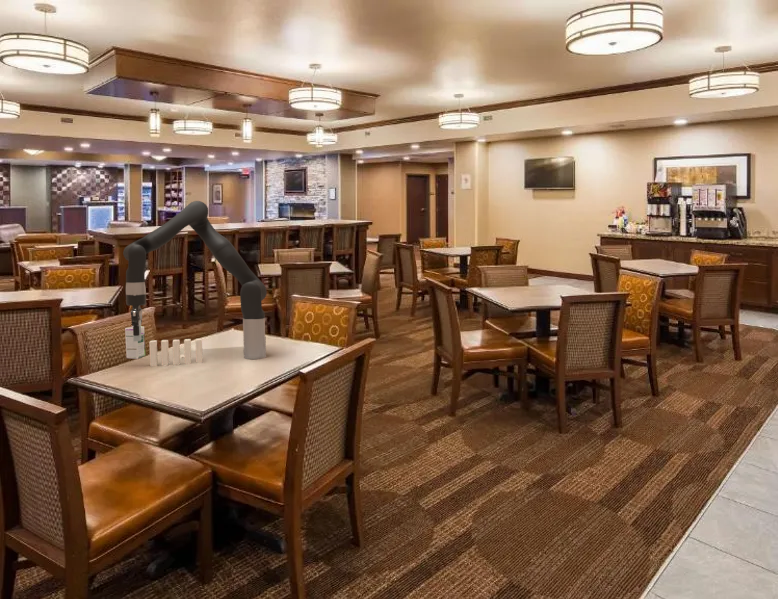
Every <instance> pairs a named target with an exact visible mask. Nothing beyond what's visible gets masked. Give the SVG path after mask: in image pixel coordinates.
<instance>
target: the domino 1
mask: <svg viewBox="0 0 778 599" xmlns="http://www.w3.org/2000/svg"><path fill="white" fill-rule="evenodd" d="M138 318H139V317H138ZM134 322H137V321H134ZM141 326H142V324H141V320H140V321H139V335H138V336H134V335H133V341H140V340H141ZM132 327H134V326H132Z"/></svg>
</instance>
